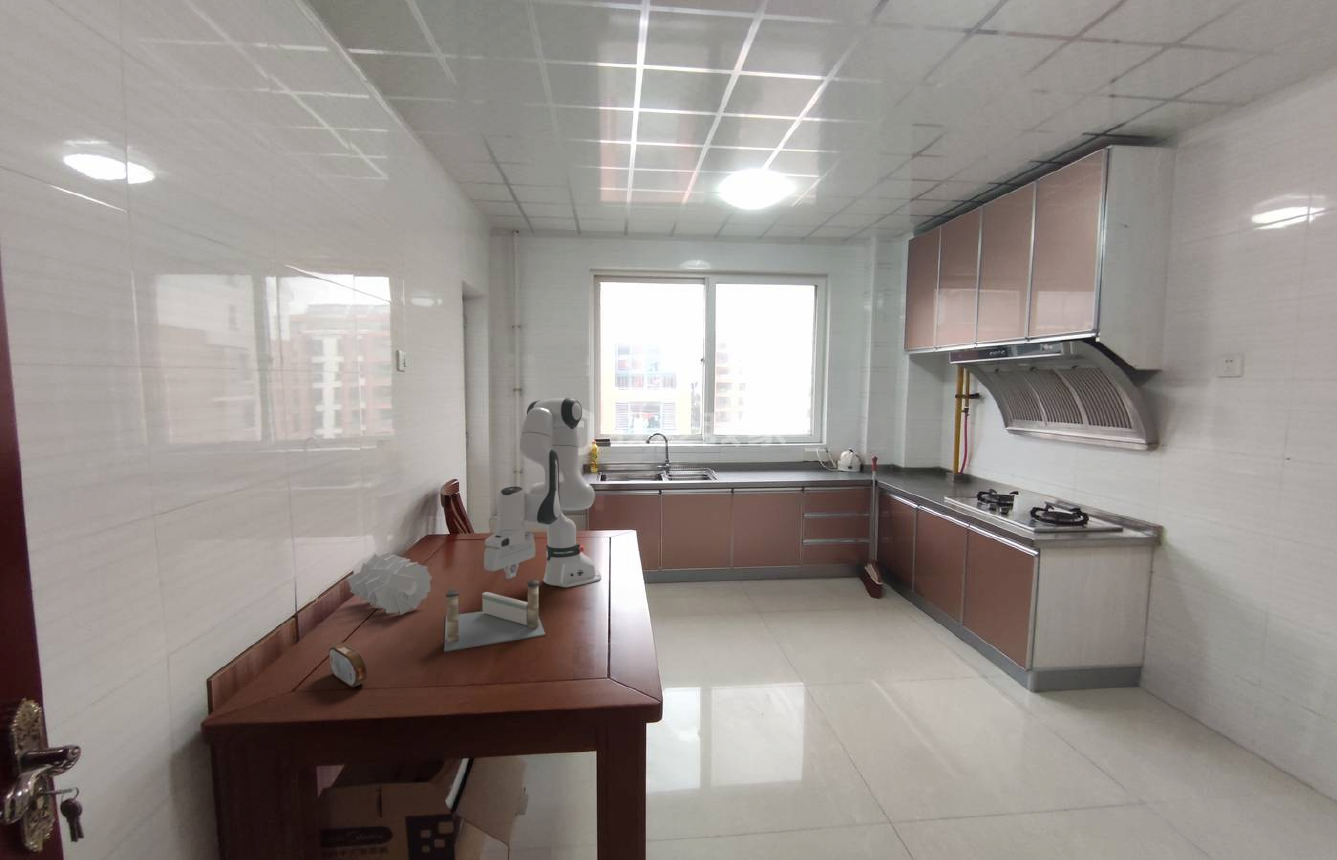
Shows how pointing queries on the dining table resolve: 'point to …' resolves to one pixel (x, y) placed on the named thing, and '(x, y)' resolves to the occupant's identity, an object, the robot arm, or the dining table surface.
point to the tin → (347, 665)
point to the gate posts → (453, 610)
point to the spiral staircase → (391, 583)
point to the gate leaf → (505, 607)
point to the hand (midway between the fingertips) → (511, 577)
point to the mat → (488, 631)
